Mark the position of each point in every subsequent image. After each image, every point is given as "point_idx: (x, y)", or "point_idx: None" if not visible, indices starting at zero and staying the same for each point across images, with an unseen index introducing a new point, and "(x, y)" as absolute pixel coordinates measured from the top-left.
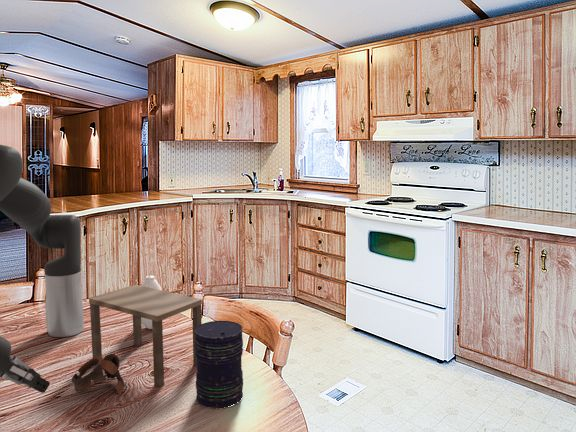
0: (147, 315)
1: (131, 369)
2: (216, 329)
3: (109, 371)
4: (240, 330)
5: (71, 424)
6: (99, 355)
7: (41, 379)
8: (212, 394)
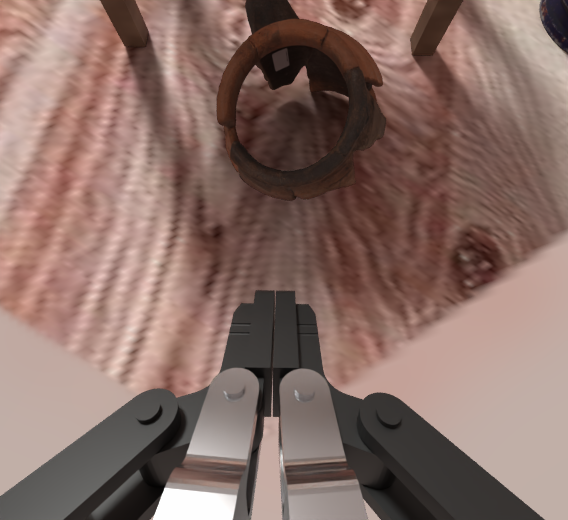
0: None
1: None
2: None
3: (379, 78)
4: None
5: (413, 317)
6: (134, 8)
7: (297, 336)
8: None
